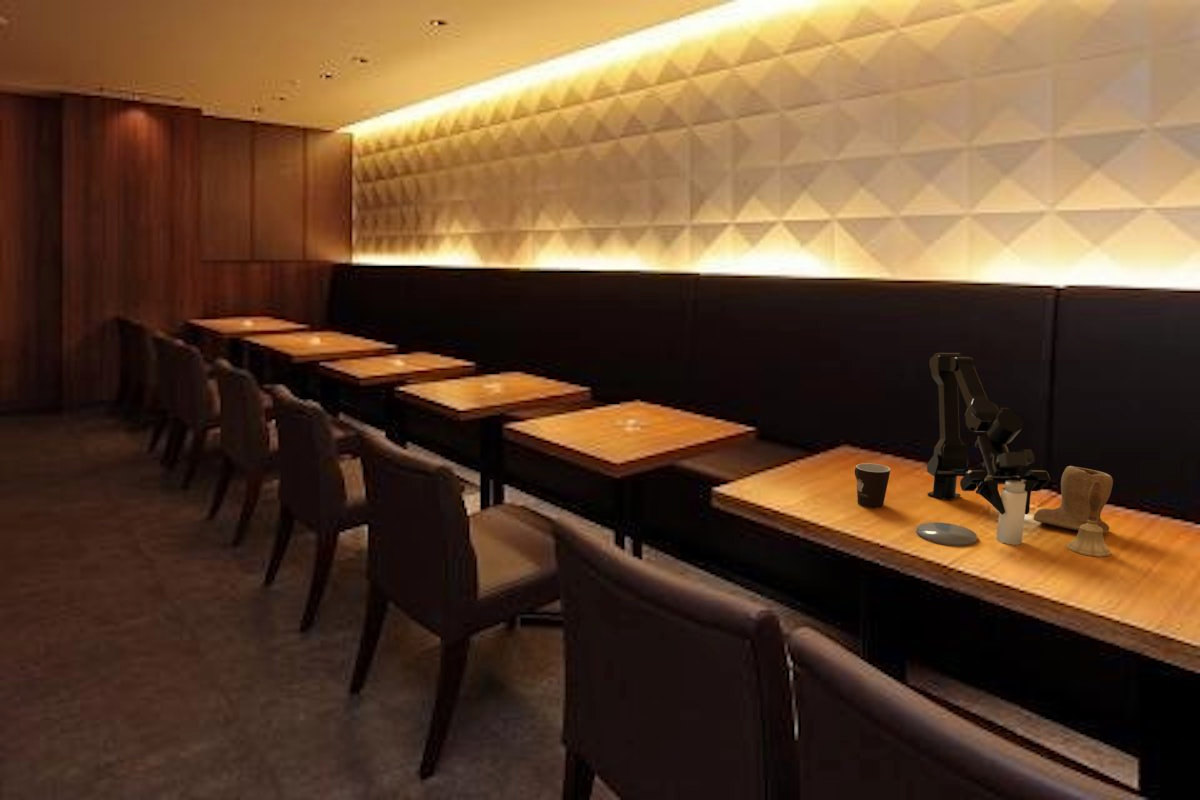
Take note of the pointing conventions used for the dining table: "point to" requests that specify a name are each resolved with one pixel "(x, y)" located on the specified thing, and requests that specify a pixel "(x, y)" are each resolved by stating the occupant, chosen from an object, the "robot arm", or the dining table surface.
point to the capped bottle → (1012, 513)
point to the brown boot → (1077, 499)
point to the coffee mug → (871, 484)
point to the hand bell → (1091, 528)
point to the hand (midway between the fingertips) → (1015, 513)
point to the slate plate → (946, 534)
